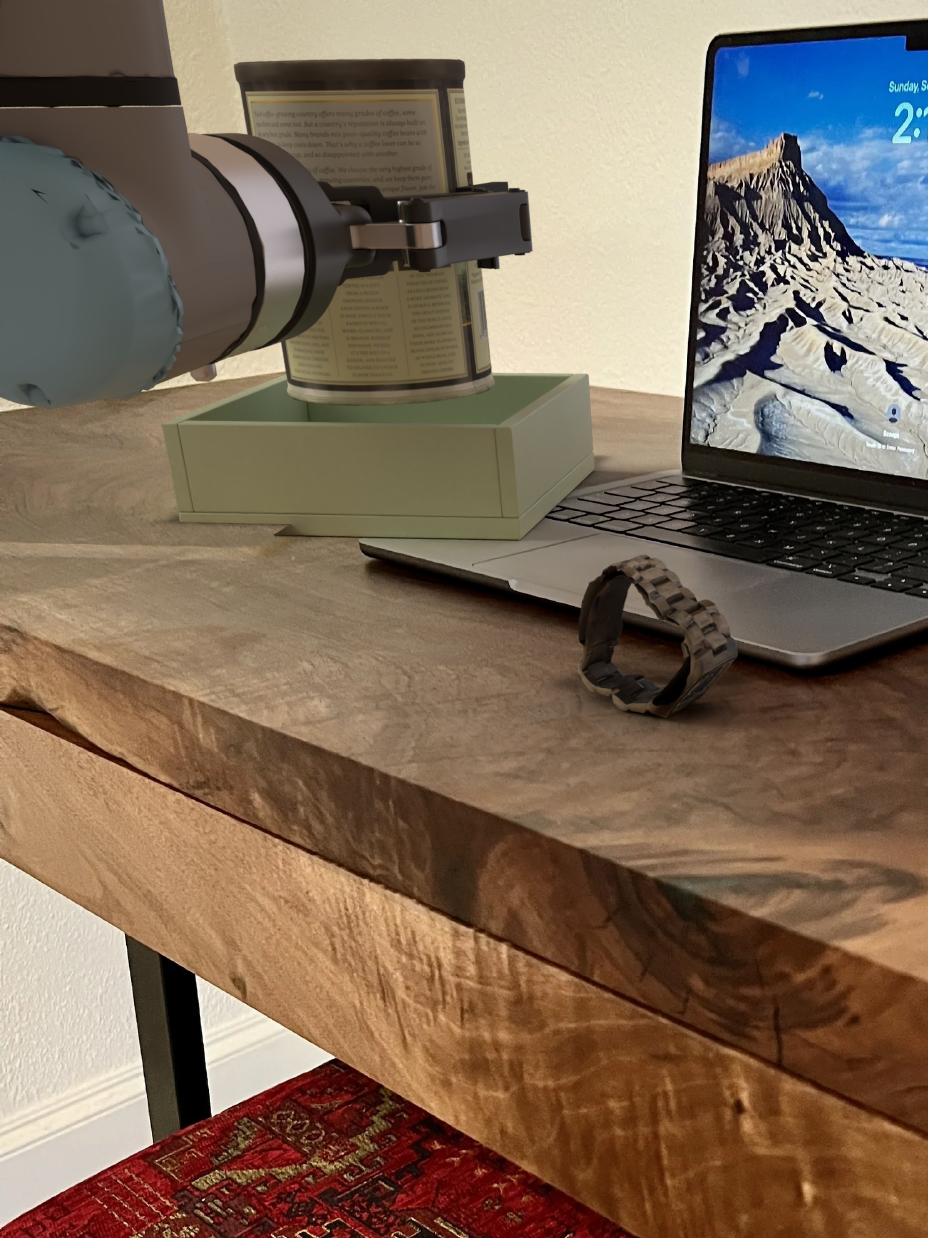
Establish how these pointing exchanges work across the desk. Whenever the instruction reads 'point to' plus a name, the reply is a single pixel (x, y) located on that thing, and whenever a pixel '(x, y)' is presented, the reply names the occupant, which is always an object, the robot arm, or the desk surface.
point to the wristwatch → (671, 602)
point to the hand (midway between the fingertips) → (398, 213)
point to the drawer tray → (386, 460)
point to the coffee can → (398, 166)
